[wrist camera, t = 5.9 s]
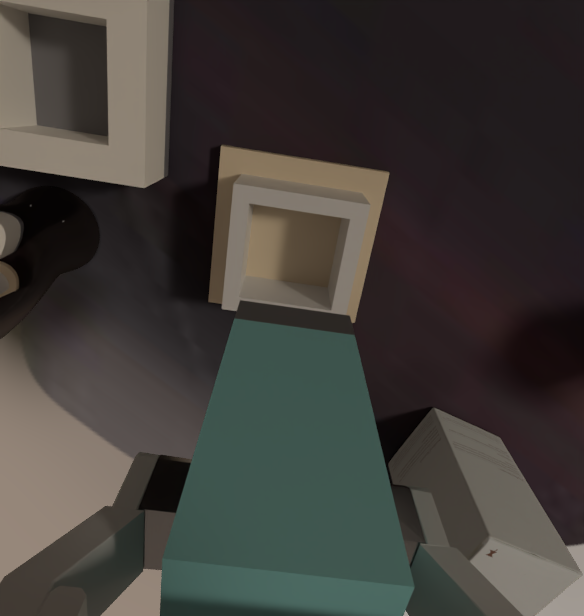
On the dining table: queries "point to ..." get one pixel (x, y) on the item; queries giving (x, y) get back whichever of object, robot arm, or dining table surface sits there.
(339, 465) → the plug
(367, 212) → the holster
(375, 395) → the dining table surface
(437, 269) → the dining table surface
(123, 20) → the port block
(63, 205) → the beer glass
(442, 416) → the supplement box
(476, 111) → the dining table surface
